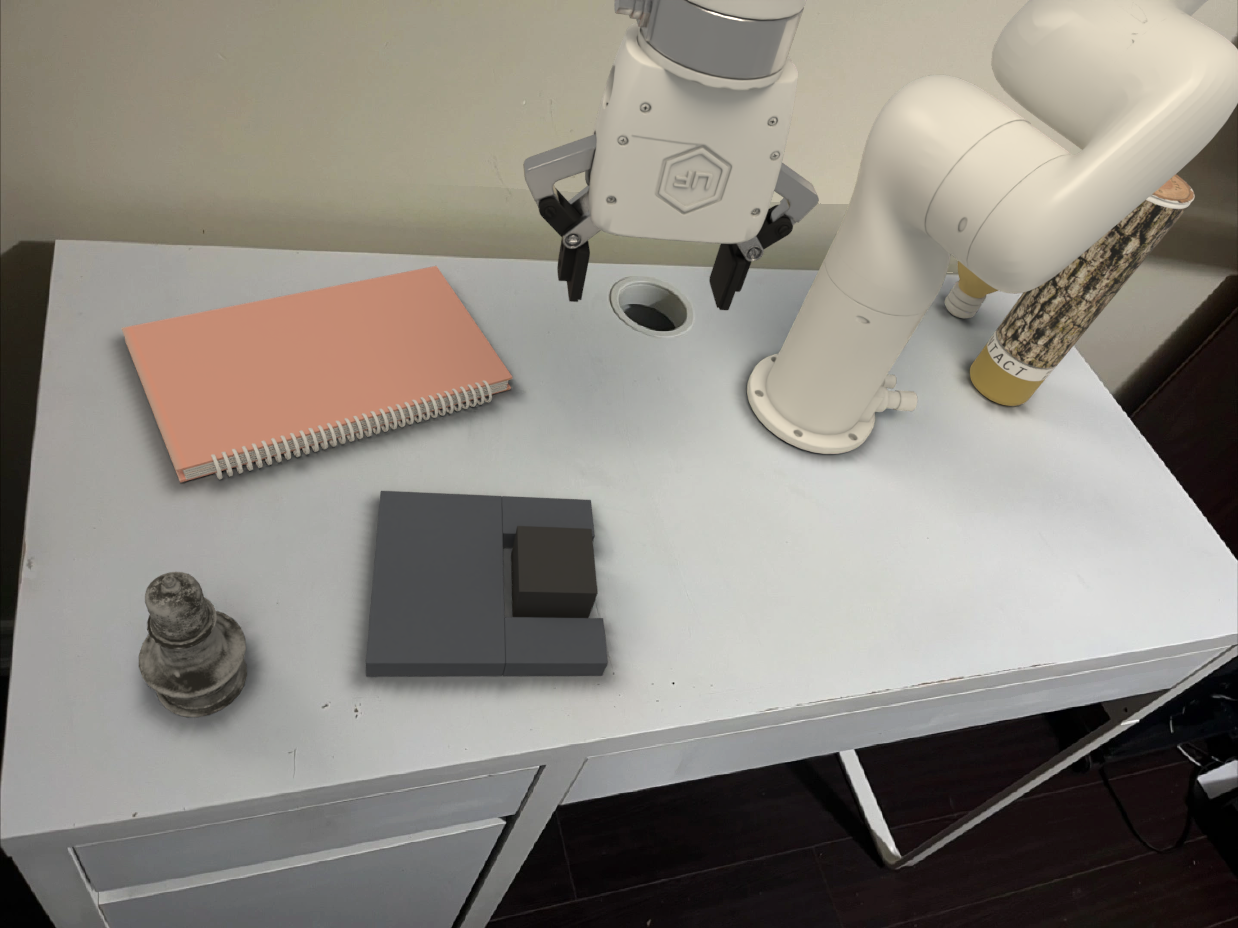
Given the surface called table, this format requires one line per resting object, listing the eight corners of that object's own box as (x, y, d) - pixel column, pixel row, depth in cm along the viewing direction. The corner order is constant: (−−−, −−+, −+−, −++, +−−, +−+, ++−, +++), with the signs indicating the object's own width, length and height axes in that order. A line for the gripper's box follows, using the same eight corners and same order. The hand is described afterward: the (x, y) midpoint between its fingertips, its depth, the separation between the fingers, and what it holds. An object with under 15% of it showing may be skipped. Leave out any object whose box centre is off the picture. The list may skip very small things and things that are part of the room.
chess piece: (209, 619, 57) (177, 513, 48) (272, 673, 56) (252, 574, 47) (128, 682, 53) (78, 580, 44) (194, 741, 52) (155, 648, 43)
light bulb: (970, 294, 102) (1017, 223, 94) (992, 331, 98) (1043, 260, 90) (923, 290, 100) (967, 218, 93) (943, 327, 96) (990, 255, 89)
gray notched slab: (586, 514, 69) (591, 499, 68) (602, 676, 60) (608, 663, 59) (380, 506, 66) (380, 490, 64) (366, 677, 57) (365, 663, 55)
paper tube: (1003, 361, 95) (1158, 157, 76) (1039, 406, 91) (1211, 203, 72) (954, 365, 92) (1101, 156, 73) (989, 412, 88) (1153, 203, 70)
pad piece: (582, 558, 66) (591, 528, 63) (587, 621, 63) (597, 593, 60) (510, 555, 65) (517, 525, 62) (512, 620, 62) (519, 591, 59)
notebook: (185, 495, 63) (180, 478, 61) (125, 343, 70) (120, 324, 69) (516, 399, 76) (518, 383, 74) (435, 279, 83) (436, 263, 82)
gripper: (548, 37, 38) (514, 325, 51) (902, 81, 42) (786, 338, 55) (537, -37, 42) (508, 245, 56) (857, 9, 46) (760, 263, 59)
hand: (646, 291), depth 55 cm, fingers open, 9 cm apart
